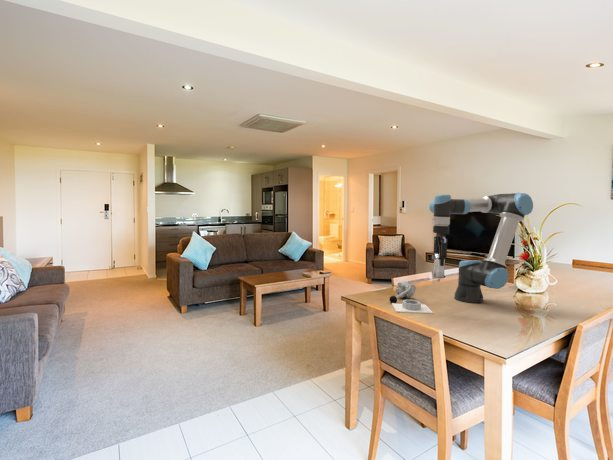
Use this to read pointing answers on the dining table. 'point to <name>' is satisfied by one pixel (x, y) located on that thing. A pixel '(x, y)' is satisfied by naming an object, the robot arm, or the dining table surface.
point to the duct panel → (411, 307)
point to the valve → (403, 291)
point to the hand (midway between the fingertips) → (439, 271)
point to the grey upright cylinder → (436, 273)
